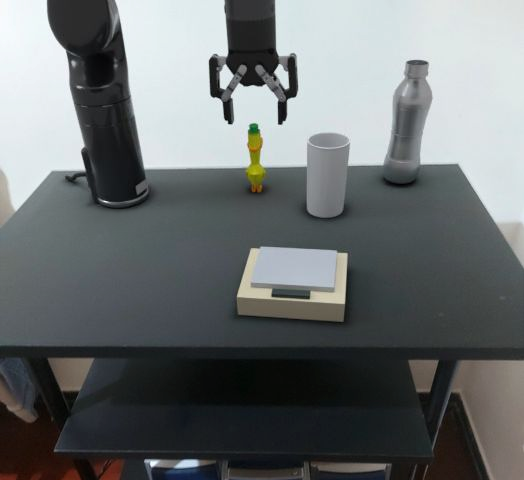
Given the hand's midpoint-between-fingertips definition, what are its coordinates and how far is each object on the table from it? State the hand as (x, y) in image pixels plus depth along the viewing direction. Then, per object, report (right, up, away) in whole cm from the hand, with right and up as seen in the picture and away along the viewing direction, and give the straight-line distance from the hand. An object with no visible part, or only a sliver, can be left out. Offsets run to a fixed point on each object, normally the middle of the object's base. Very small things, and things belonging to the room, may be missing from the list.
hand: (255, 123), depth 92 cm
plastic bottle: (+27, -7, +9) cm, 29 cm away
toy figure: (0, -9, +8) cm, 12 cm away
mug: (+12, -13, +3) cm, 18 cm away
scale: (+6, -30, -16) cm, 35 cm away
